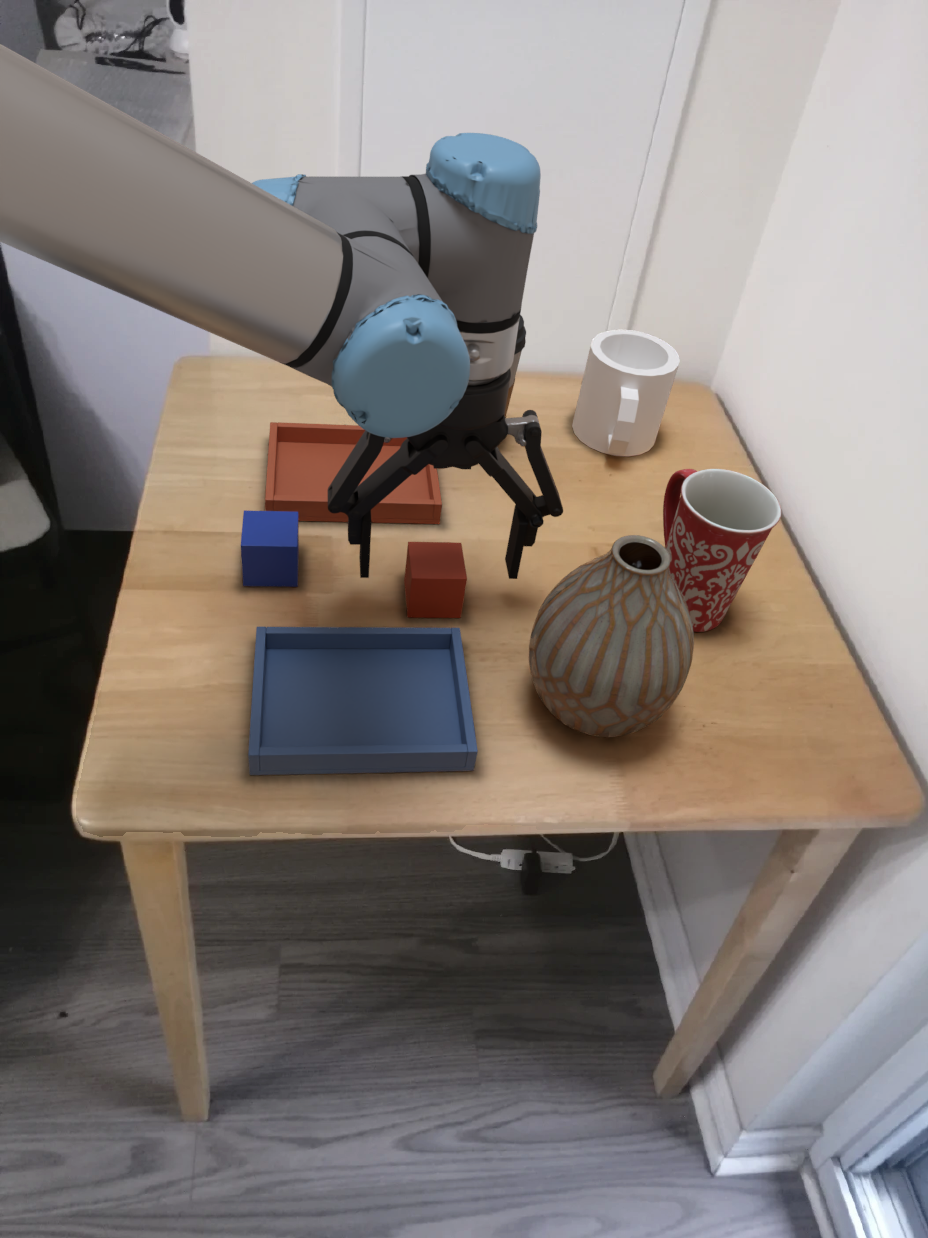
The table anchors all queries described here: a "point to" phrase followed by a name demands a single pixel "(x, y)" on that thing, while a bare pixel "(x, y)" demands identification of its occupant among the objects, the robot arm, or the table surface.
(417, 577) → the rust block
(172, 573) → the table surface
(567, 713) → the vase
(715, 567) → the mug
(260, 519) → the blue block
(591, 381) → the mug
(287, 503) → the terracotta tray
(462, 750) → the blue tray
